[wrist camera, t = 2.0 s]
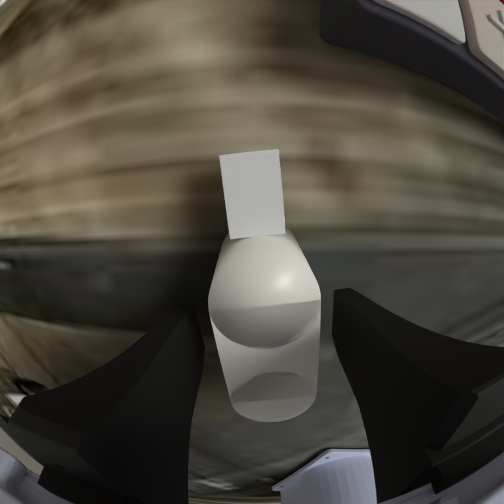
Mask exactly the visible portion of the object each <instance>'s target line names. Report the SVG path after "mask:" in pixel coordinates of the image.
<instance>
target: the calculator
mask: <svg viewBox="0 0 504 504" xmlns="http://www.w3.org/2000/svg"><path fill="white" fill-rule="evenodd" d="M320 35H321V37H322V39H323V40H324V41H325V42H327V43H329V44H332V45H335V46H339V47H343V48H346V49H350V50H354V51H357V52H361V53H364V54H367V55H370V56H374V57H377V58H380V59H383V60H385V61H388V62H391V63H394V64H396V65H399V66H401V67H404V68H406V69H409V70H411V71H414V72H418V73H422V74H426V75H428V76H430V77H432V78H434V79H436V80H438V81H440V82H442V83H444V84H446V85H447V86H449V87H451V88H453V89H454V90H456V91H458V92H460V93H461V94H463V95H465V96H466V97H468V98H469V99H471V100H473V101H474V102H476V103H477V104H479V105H480V106H482V107H483V108H485V109H486V110H487V111H489V112H490V113H492V114H493V115H495V116H496V117H498V118H499V119H500V120H502V121H503V122H504V0H321V15H320Z"/></svg>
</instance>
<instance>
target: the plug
mask: <svg viewBox="0 0 504 504" xmlns="http://www.w3.org/2000/svg"><path fill="white" fill-rule="evenodd" d="M219 157H220V165H221V173H222V181H223V189H224V197H225V205H226V212H227V220H228V227H229V233H228V234H227V235H226V237H225V239H224V241H223V244H222V247H221V250H220V254H219V258H218V261H217V265H216V269H215V272H214V276H213V280H212V283H211V287H210V291H209V296H208V309H209V314H210V319H211V323H212V328H213V332H214V336H215V341H216V345H217V349H218V353H219V357H220V361H221V366H222V370H223V373H224V377H225V381H226V385H227V389H228V393H229V396H230V400H231V404H232V406H233V408H234V409H235V410H236V411H237V412H238V413H239V414H241V415H242V416H244V417H246V418H249V419H252V420H255V421H261V422H277V421H283V420H287V419H291V418H293V417H296V416H298V415H300V414H301V413H303V412H305V411H306V410H307V409H308V408H309V407H310V406H311V405H312V404H313V402H314V400H315V398H316V391H317V377H318V362H319V343H320V315H321V294H320V289H319V286H318V283H317V281H316V279H315V277H314V275H313V273H312V271H311V269H310V267H309V265H308V263H307V261H306V259H305V257H304V255H303V253H302V251H301V249H300V247H299V245H298V243H297V241H296V239H295V237H294V236H293V234H292V233H291V231H290V230H289V229H288V228H287V227H286V226H285V218H284V205H283V193H282V182H281V171H280V160H279V150H278V149H275V150H264V151H253V152H244V153H235V154H227V155H219Z"/></svg>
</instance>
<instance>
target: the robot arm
mask: <svg viewBox="0 0 504 504" xmlns="http://www.w3.org/2000/svg"><path fill="white" fill-rule="evenodd" d="M332 337H333V340H334V344H335V348H336V351H337V355H338V357H339V360H340V362H341V364H342V367H343V369H344V372H345V374H346V376H347V378H348V381H349V383H350V385H351V388H352V390H353V393H354V395H355V397H356V400H357V403H358V405H359V408H360V412H361V415H362V419H363V423H364V427H365V431H366V435H367V440H368V444H369V449H328V450H326V451H324V452H323V453H322V454H320V455H319V456H318V457H316V458H315V459H313V460H312V461H311V462H309V463H308V464H306V465H305V466H304V467H302V468H301V469H299V470H298V471H296V472H295V473H293V474H292V475H290V476H289V477H287V478H285V479H284V480H282V481H281V482H279V483H277V484H276V485H274V486H272V490H273V491H280V492H281V504H504V347H496V346H487V345H481V344H475V343H470V342H466V341H461V340H458V339H454V338H451V337H447V336H444V335H441V334H438V333H435V332H433V331H430V330H428V329H425V328H423V327H420V326H418V325H416V324H413V323H411V322H409V321H407V320H405V319H403V318H401V317H399V316H397V315H396V314H394V313H392V312H390V311H388V310H387V309H385V308H383V307H381V306H380V305H378V304H376V303H375V302H373V301H371V300H370V299H368V298H367V297H365V296H363V295H362V294H360V293H358V292H356V291H355V290H353V289H351V288H345V289H338V290H334V304H333V323H332ZM204 349H205V346H204V342H203V339H202V335H201V331H200V327H199V323H198V319H197V315H196V311H195V307H194V304H191V305H178V306H177V307H176V308H174V309H173V310H172V311H171V312H170V313H169V314H168V315H166V316H165V317H164V318H163V319H162V320H161V321H160V322H159V323H158V324H157V325H155V326H154V327H153V328H152V329H151V330H150V331H149V332H148V333H146V334H145V335H144V336H143V337H142V338H140V339H139V340H138V341H137V342H136V343H134V344H133V345H132V346H131V347H129V348H128V349H127V350H125V351H124V352H123V353H121V354H120V355H119V356H117V357H116V358H114V359H113V360H111V361H109V362H108V363H106V364H105V365H103V366H101V367H100V368H98V369H96V370H94V371H92V372H90V373H88V374H87V375H85V376H83V377H81V378H79V379H77V380H74V381H72V382H70V383H67V384H65V385H62V386H60V387H57V388H54V389H51V390H48V391H45V392H41V393H38V394H34V395H31V396H26V397H24V398H23V399H22V400H21V402H20V404H19V405H18V407H17V408H16V410H15V411H14V413H13V414H12V416H11V418H10V419H9V421H8V423H7V427H8V430H9V432H10V433H11V435H12V436H13V437H14V439H15V440H16V441H17V442H18V443H19V444H20V445H21V446H22V447H23V448H24V449H25V450H26V451H27V452H28V453H29V454H31V455H32V456H33V457H34V458H35V459H36V460H37V461H38V462H39V463H41V464H42V465H43V466H44V468H43V470H42V473H41V475H38V474H36V473H34V472H32V471H30V470H29V469H27V468H26V466H25V465H24V464H22V463H21V462H20V461H19V460H18V459H17V458H15V457H14V456H13V455H11V454H10V453H8V452H7V451H5V450H4V449H2V448H1V447H0V504H188V458H189V441H190V429H191V422H192V416H193V411H194V407H195V402H196V398H197V393H198V389H199V384H200V380H201V375H202V371H203V362H204Z"/></svg>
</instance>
